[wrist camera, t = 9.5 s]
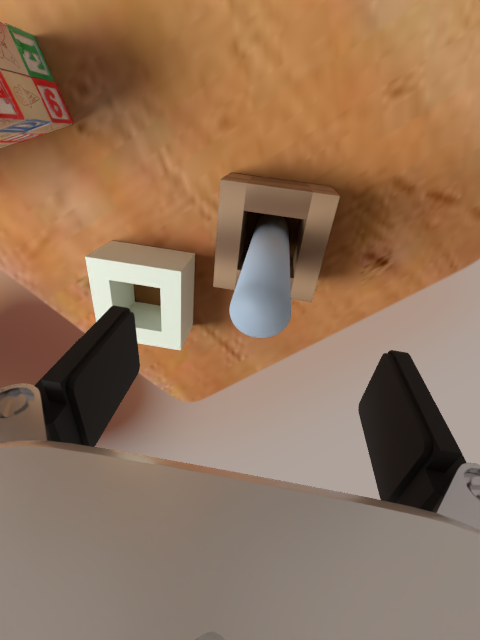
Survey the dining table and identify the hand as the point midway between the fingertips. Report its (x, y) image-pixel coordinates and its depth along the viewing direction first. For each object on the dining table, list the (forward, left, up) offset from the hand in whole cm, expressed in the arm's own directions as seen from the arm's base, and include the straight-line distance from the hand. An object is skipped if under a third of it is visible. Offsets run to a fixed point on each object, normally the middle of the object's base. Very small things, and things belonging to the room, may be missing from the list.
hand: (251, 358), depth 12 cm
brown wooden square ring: (+1, 0, -21) cm, 21 cm away
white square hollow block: (+9, -12, -21) cm, 25 cm away
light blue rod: (+1, 0, -21) cm, 21 cm away
